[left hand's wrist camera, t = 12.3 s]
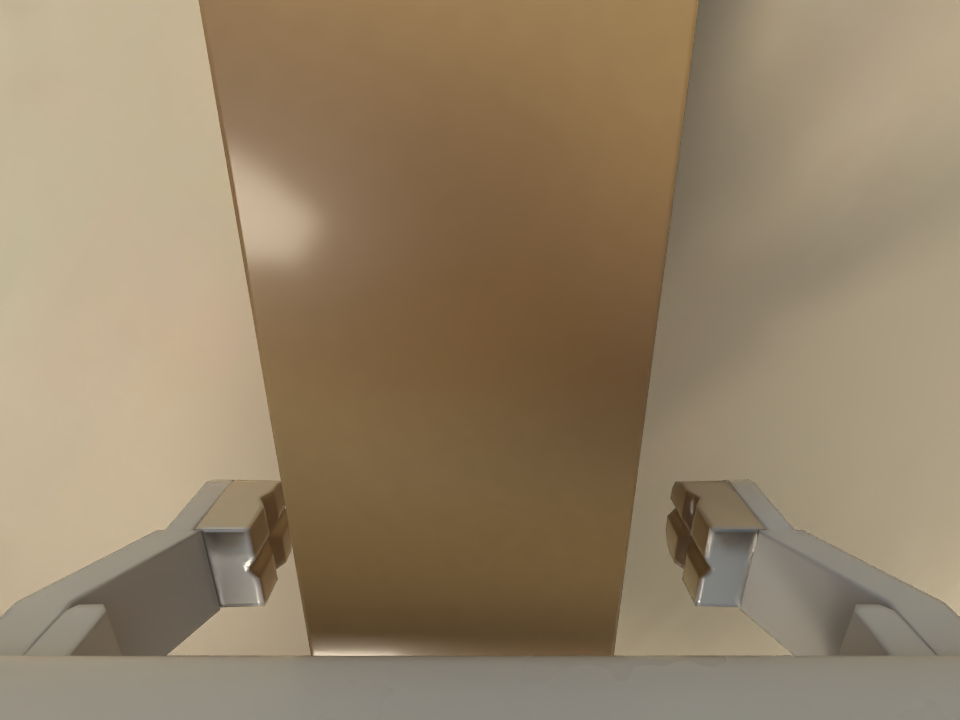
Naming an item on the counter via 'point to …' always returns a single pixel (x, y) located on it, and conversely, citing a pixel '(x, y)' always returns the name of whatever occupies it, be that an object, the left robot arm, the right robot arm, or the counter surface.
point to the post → (455, 301)
